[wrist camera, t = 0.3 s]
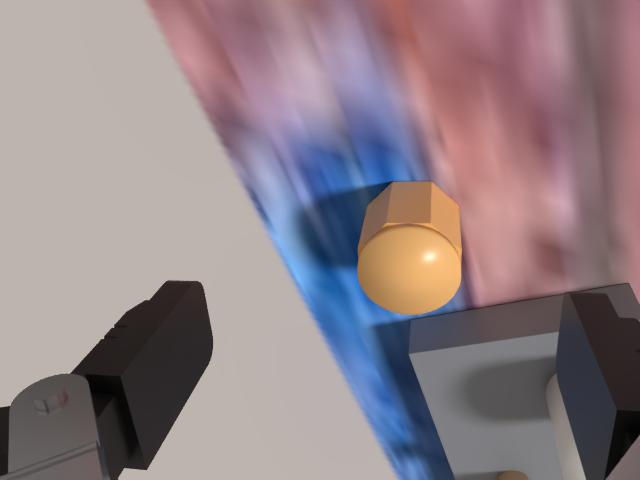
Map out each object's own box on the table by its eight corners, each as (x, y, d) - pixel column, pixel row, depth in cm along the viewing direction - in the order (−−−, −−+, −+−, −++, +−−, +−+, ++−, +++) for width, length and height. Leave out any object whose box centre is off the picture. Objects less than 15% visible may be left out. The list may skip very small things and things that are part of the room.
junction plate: (410, 319, 34) (403, 435, 27) (629, 283, 30) (689, 406, 23) (470, 487, 41) (477, 614, 34) (653, 475, 37) (705, 615, 30)
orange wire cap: (365, 181, 30) (354, 229, 26) (459, 180, 29) (463, 230, 25) (370, 257, 32) (360, 312, 28) (456, 259, 31) (459, 316, 27)
